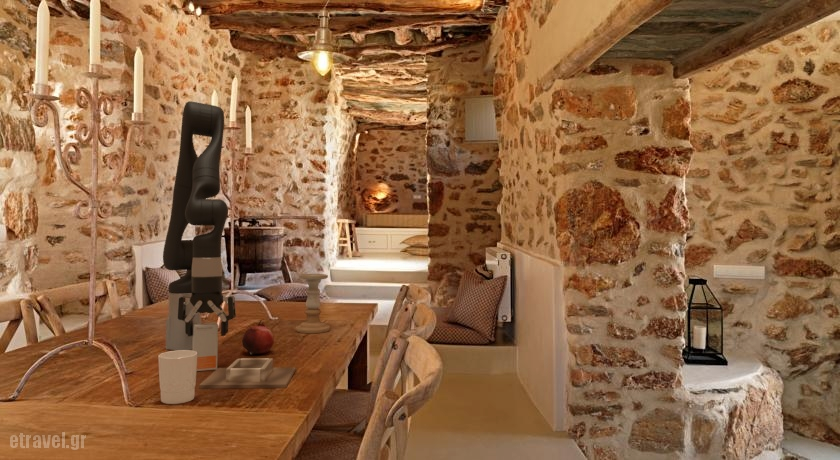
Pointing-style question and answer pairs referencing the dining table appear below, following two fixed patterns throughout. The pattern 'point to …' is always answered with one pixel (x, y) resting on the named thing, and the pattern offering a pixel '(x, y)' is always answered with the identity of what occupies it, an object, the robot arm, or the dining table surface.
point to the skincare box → (206, 345)
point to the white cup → (177, 376)
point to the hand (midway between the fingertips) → (207, 335)
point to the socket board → (249, 375)
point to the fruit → (258, 339)
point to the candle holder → (313, 306)
